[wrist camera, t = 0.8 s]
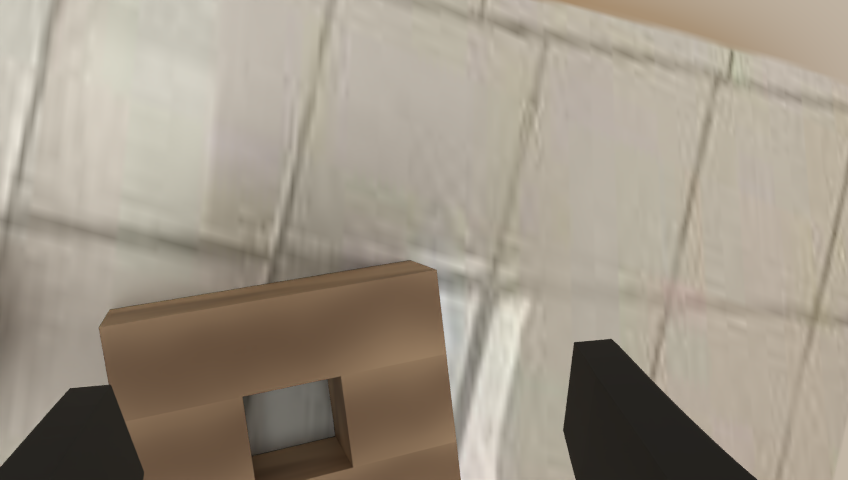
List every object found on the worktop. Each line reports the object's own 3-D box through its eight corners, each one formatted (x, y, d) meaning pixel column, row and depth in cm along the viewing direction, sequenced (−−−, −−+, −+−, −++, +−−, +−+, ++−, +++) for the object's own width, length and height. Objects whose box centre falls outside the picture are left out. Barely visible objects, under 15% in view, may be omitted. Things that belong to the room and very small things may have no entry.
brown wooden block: (436, 485, 37) (465, 520, 33) (153, 562, 33) (149, 612, 29) (410, 260, 35) (436, 269, 32) (109, 309, 31) (98, 327, 27)
